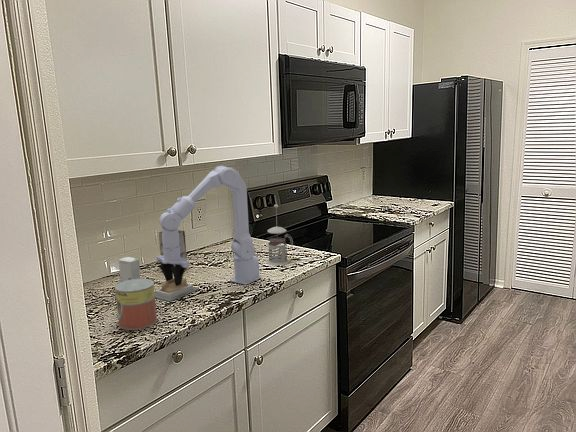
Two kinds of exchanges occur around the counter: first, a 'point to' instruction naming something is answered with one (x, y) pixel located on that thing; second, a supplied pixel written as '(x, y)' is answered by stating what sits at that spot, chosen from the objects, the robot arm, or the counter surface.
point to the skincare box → (129, 268)
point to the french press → (280, 258)
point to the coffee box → (181, 242)
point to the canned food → (136, 303)
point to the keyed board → (174, 293)
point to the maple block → (173, 285)
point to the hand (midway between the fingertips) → (174, 283)
